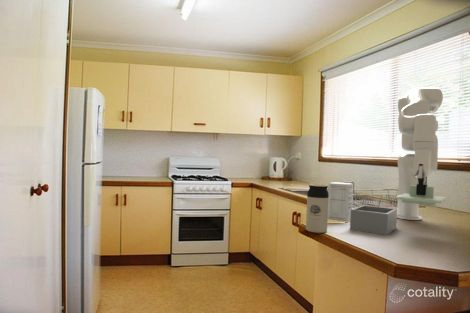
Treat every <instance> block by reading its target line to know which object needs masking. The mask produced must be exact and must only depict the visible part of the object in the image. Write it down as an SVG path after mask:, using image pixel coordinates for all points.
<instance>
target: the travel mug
mask: <svg viewBox="0 0 470 313" xmlns="http://www.w3.org/2000/svg"><path fill="white" fill-rule="evenodd" d="M308 188H309V189H308V191H307V194H306V195H307V198H306V219H305V231H308V232H310V233H316V234H322V233H323V234H324V233H326V232H328V220H329V219H328V198H329V193H328V188H329V184H326V183H314V182H313V183H308Z"/></svg>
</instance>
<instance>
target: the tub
mask: <svg viewBox="0 0 470 313" xmlns="http://www.w3.org/2000/svg"><path fill="white" fill-rule="evenodd" d="M349 221H350V222H349V223H350V224H349V230H350V231H351V230H352V231H357V230H360V231H359V232H364V231H365V233H370V232H371V233H372V234H377V233H378V234H379V235H385V236H388V235H389V234H391V233H392V232H393V231H395V230H396V229H397V222H398V218H397V208H390V207H381V206H374V205H373V206H372V205H364V204H363V205H360V206H357V207H354V208H353V209H351V217H350V220H349Z"/></svg>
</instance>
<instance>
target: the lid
mask: <svg viewBox="0 0 470 313" xmlns="http://www.w3.org/2000/svg"><path fill="white" fill-rule="evenodd" d="M416 188H417V186H413V185H411V186H410V194H406V193H405V194H402V195H399V196H398V195H396V196H395V198H394V199H395V200H398V199H399V200H402V203H412V204H419V205H423V206H437V205H439V204H442V203H444V202H445V201H446V200H447V197H446V196H439V195H434V194H435V187H434V186H427V187H426V195H417V194H416Z"/></svg>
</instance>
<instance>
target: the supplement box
mask: <svg viewBox="0 0 470 313" xmlns="http://www.w3.org/2000/svg"><path fill="white" fill-rule="evenodd" d="M327 191H328V193H329V198H328V220H331V221H338V222H339V221H341V222H349V221H350V217H351V209H354V208H353V200H354V182H353V183H352V182H339V181H337V182H336V181H334V182H333V181H332V182H329V183H328V189H327Z"/></svg>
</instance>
